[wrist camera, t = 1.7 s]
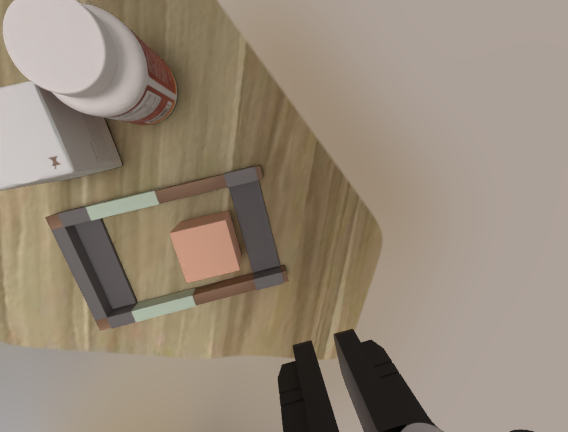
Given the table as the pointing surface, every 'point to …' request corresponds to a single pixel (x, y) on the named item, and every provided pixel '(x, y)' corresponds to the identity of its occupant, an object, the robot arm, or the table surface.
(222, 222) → the terracotta block
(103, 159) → the product box
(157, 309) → the frame
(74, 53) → the pill bottle
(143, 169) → the table surface
